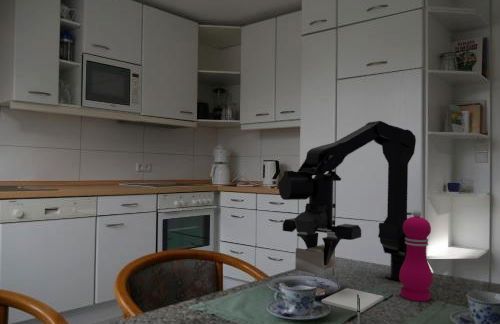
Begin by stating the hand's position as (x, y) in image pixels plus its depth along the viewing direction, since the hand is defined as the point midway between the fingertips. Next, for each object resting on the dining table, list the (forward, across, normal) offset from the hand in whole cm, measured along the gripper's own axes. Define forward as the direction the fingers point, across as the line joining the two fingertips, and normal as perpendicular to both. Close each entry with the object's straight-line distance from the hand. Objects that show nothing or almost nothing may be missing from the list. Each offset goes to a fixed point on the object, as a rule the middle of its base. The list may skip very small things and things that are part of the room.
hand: (319, 264), depth 99 cm
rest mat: (+6, +10, -3) cm, 12 cm away
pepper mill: (+6, +20, +10) cm, 23 cm away
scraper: (+1, 0, 0) cm, 1 cm away
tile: (+6, 0, -3) cm, 6 cm away
